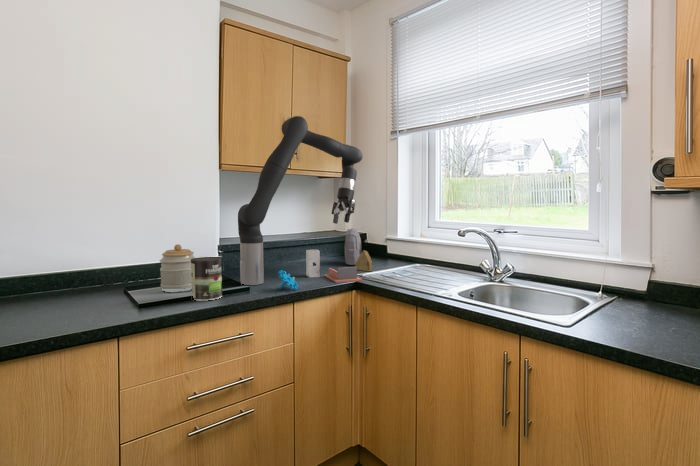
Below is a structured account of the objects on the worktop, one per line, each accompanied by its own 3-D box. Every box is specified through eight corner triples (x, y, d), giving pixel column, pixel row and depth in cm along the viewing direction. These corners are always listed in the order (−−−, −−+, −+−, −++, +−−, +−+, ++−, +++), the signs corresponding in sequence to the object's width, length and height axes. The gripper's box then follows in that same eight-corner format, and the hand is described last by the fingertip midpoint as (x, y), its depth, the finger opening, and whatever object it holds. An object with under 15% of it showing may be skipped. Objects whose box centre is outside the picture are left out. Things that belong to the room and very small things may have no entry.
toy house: (379, 267, 186) (374, 261, 196) (369, 253, 184) (364, 248, 194) (361, 280, 186) (357, 273, 196) (351, 267, 184) (348, 261, 194)
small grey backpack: (349, 262, 216) (349, 227, 214) (363, 262, 214) (363, 227, 213) (343, 266, 201) (343, 228, 200) (358, 267, 200) (359, 229, 198)
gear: (292, 289, 142) (276, 269, 144) (281, 299, 142) (265, 279, 145) (304, 286, 152) (288, 268, 154) (294, 296, 153) (278, 278, 155)
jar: (189, 284, 157) (188, 242, 156) (202, 289, 148) (201, 244, 146) (155, 289, 148) (154, 244, 146) (167, 295, 139) (166, 247, 137)
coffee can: (228, 296, 136) (227, 257, 135) (204, 303, 128) (203, 261, 127) (210, 293, 142) (209, 255, 141) (185, 299, 133) (184, 259, 132)
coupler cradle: (336, 283, 160) (336, 269, 159) (324, 276, 175) (324, 263, 174) (362, 280, 164) (362, 267, 164) (348, 274, 179) (348, 262, 179)
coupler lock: (309, 277, 171) (309, 251, 170) (306, 275, 176) (306, 249, 175) (320, 276, 173) (319, 250, 172) (316, 274, 178) (316, 249, 177)
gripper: (331, 189, 181) (325, 221, 178) (349, 184, 170) (343, 219, 167) (343, 193, 186) (337, 225, 183) (362, 190, 174) (356, 224, 172)
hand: (340, 222), depth 175 cm, fingers open, 8 cm apart
